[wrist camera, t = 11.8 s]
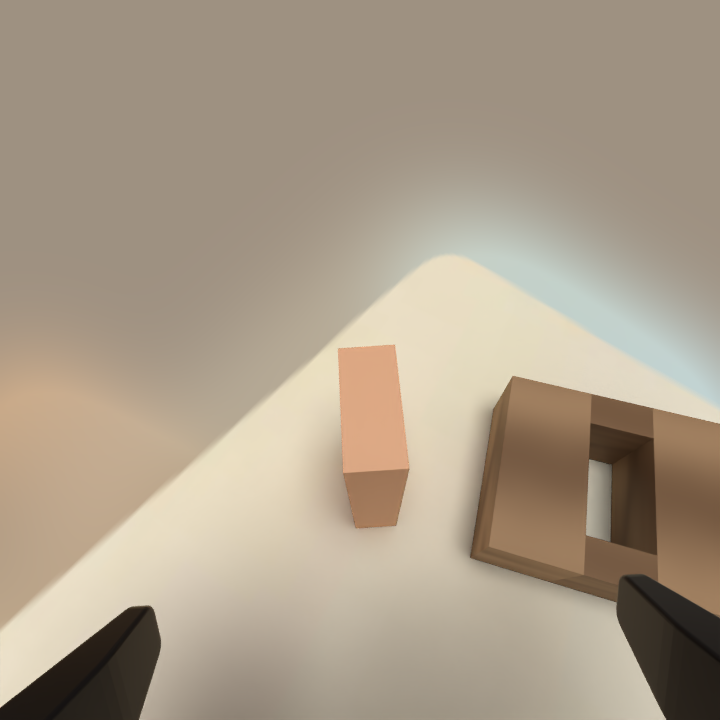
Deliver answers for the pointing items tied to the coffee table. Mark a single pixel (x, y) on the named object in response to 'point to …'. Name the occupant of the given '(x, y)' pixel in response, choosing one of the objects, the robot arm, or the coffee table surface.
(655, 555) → the slot box
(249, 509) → the coffee table surface
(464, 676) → the coffee table surface
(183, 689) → the coffee table surface
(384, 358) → the rectangular block
